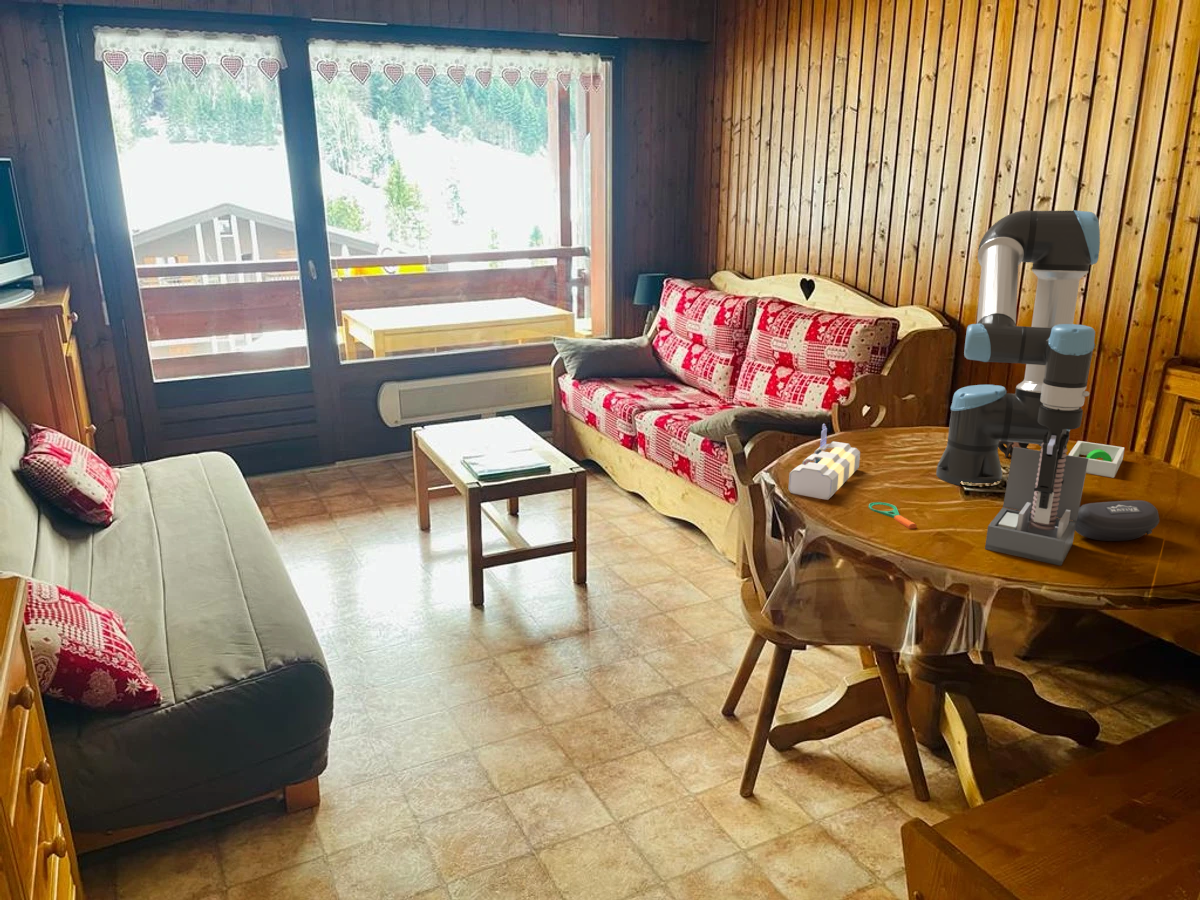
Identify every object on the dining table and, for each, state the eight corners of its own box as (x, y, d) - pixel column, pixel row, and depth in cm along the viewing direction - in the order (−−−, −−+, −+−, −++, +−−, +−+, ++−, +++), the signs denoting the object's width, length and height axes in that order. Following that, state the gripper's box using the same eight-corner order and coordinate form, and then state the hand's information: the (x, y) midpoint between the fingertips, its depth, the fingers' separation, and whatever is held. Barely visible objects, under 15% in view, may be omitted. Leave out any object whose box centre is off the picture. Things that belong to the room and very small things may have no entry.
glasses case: (1087, 549, 176) (1094, 513, 174) (1054, 530, 186) (1060, 495, 184) (1167, 544, 178) (1174, 508, 176) (1130, 525, 188) (1137, 491, 186)
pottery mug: (1042, 459, 233) (1052, 438, 227) (1034, 482, 228) (1044, 461, 222) (996, 443, 238) (1005, 422, 232) (987, 466, 233) (995, 445, 227)
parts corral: (1064, 470, 223) (1067, 456, 222) (1075, 454, 236) (1078, 440, 235) (1113, 478, 217) (1116, 463, 216) (1122, 461, 230) (1124, 447, 229)
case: (984, 548, 176) (996, 465, 171) (1003, 524, 189) (1014, 446, 183) (1061, 565, 168) (1075, 478, 163) (1074, 539, 181) (1088, 457, 175)
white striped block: (818, 468, 228) (822, 420, 224) (858, 474, 223) (862, 425, 219) (787, 496, 207) (791, 444, 203) (830, 504, 202) (834, 450, 198)
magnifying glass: (862, 508, 200) (863, 501, 199) (886, 505, 201) (886, 499, 201) (899, 532, 186) (900, 525, 185) (924, 529, 187) (925, 522, 187)
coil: (1052, 527, 176) (1066, 442, 171) (1056, 535, 172) (1070, 448, 167) (1027, 524, 178) (1040, 440, 173) (1030, 532, 174) (1043, 446, 168)
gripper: (1075, 418, 158) (1056, 536, 165) (1090, 399, 172) (1072, 509, 179) (1031, 412, 163) (1014, 527, 169) (1048, 394, 176) (1032, 502, 183)
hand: (1043, 518), depth 174 cm, fingers closed on coil, 5 cm apart
